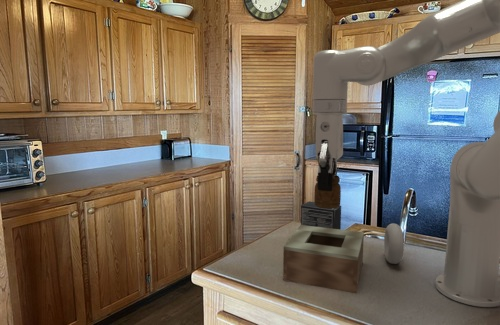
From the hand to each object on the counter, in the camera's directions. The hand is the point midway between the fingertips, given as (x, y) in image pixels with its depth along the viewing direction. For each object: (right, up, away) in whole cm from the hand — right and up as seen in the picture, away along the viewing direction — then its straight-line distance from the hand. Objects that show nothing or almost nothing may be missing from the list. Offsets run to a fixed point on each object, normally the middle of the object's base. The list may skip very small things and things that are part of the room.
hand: (327, 186), depth 83 cm
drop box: (0, -20, +3) cm, 21 cm away
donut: (+18, -20, +8) cm, 28 cm away
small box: (+3, -17, +24) cm, 30 cm away
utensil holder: (0, -5, +1) cm, 5 cm away
